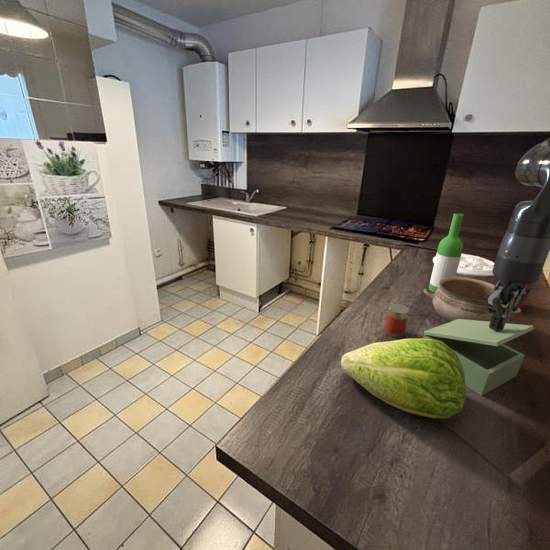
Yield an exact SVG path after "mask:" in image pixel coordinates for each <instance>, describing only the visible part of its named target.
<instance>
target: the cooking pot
mask: <svg viewBox="0 0 550 550" xmlns="http://www.w3.org/2000/svg"><path fill="white" fill-rule="evenodd" d="M439 284H440V286H439V287H438V289H437V290H436V291H432V290H429V288H424V289H423V293H424V294H425V295H426V296H427V297H429V298H430V299H431V300H432V305H433V308H434V310H435V312H436V313H437V314H438V316H439V317H441V318H442V319H444V320H445V321H446V322H447V323H449V322H451V321H454V320H457V319H466V320H477V321H487V322H490V321H491V318H492V315H493V314H491V313H489V312H487V308H486V304H485V301H484V297H485V295H486V294H488V295H492V294H493V293H494V286H495V285H496V284H493V283H490V282H487V281H484V280H480V279H475V278H472V277H463V276H456V277H448V278H444V279H442V280H440V282H439ZM521 312H522V308H521V309H520V308H518V309H517V310H516V311H515V312H513V311H512V313H511V315H510V316H514V315H518V314H521Z"/></svg>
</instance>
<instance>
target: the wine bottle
mask: <svg viewBox="0 0 550 550" xmlns="http://www.w3.org/2000/svg"><path fill="white" fill-rule="evenodd" d="M463 218H464V214H463V213H458V212H456V213H453V216H452V220H451V224H450V227H449V231H448V234H447V236H445V237H443V238H442V239H441V240H440V242H439V243H438V246H437V251H436V255H435V256H436V258H435V262H434V263H433V267H432V272H431V276H430V279H429V280H430V281H429V285H428V289H429V290H432V291H436V290H437V289H438V287H439V286H440V284H439V282H440V280H442V279H444V278H448V277H457V274H458V273H457V269H458V265H459V262H460V258H461V254H463V250H464V243H463V241H462V240H461V239H460V237H459V235H460V230H461V227H462V223H463Z"/></svg>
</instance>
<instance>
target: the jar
mask: <svg viewBox="0 0 550 550" xmlns="http://www.w3.org/2000/svg"><path fill="white" fill-rule="evenodd" d="M409 313H410V308H409V307H408V306H407V305H404V304H401V303H391V304H389V305H388V310H387V314H386V319H385V324H384V333H385V334H386V336H389V337H390V338H394V339H402V338H403V337H404V336H405V333H406V329H407V324H408V319H409Z"/></svg>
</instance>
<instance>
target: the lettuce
mask: <svg viewBox="0 0 550 550" xmlns="http://www.w3.org/2000/svg"><path fill="white" fill-rule="evenodd" d="M340 364H341V370H342V372H344V373H345V374H347V375H348V376H349V377H350V378H352V379H353V380H354V381H355V382H356V383H358V385H360V386H361V387H362V388H364V389H365V390H366V391H367V392H369V393H370V394H371V395H372V396H373V397H375V398H378V399H379V400H380V401H382V402H384V403H386V404H387V405H390V406H391V407H393V408H396V409H398V410H402V411H403V412H406V413H408V414H413V415H417V416H422V417H426V418H432V419H446V420H447V419H450V418H452V417H453V416H455V415H457V414H459V413H461V412H462V411H463V407H464V406H465V403H466V391H467V389H466V388H467V386H466V385H465V376H464V370H463V367H462V364H461V361H460V359H459V358H458V356H457V354H456V353H455V352H454V351H453V350H452V349H451V348H450V347H448V346H447V345H446V344H445V343H444V342H442V341H440V340H435V339H429V338H423V337H422V338H421V337H418V338H415V337H414V338H413V337H412V338H403V339H402V338H400V339H396V340H395V339H394V340H389V341H378V342H375V341H374V342H372V343H369V344H367V345H363V346H361V347H359V348H356V349H354V350H351V351H348V352H346V353H344V354H343V355H341V360H340Z"/></svg>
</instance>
